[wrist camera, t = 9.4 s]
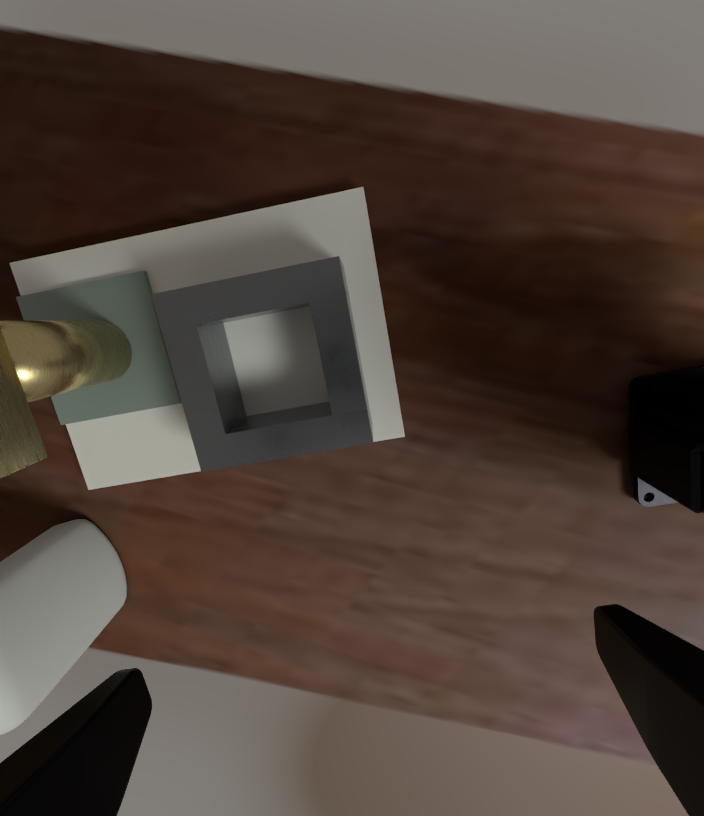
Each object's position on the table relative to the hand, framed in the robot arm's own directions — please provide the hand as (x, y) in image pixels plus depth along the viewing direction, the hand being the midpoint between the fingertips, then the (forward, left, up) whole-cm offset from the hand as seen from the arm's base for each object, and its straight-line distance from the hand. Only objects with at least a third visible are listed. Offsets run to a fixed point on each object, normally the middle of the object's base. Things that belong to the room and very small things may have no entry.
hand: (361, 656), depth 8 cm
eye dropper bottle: (+16, +4, -13) cm, 21 cm away
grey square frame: (+3, -5, -12) cm, 13 cm away
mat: (+11, -7, -12) cm, 18 cm away
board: (+6, -6, -13) cm, 16 cm away
